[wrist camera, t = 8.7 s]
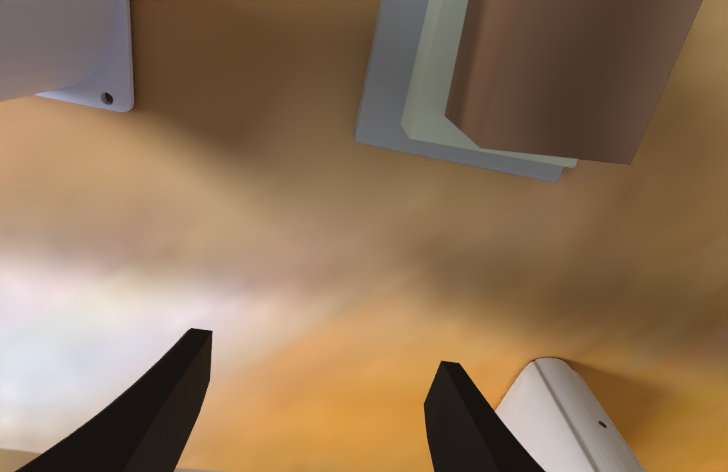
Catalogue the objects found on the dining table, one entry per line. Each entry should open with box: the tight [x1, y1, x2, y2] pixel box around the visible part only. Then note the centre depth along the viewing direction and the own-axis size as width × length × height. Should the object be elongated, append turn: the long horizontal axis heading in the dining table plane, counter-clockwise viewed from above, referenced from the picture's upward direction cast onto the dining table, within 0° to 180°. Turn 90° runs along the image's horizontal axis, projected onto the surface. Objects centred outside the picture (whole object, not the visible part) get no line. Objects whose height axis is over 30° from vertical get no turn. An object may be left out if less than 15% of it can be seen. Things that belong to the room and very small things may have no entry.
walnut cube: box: [444, 0, 703, 165], centre depth 12 cm, size 4×4×4 cm
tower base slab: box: [354, 0, 565, 183], centre depth 18 cm, size 10×10×2 cm
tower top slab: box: [401, 0, 578, 168], centre depth 15 cm, size 7×7×2 cm
